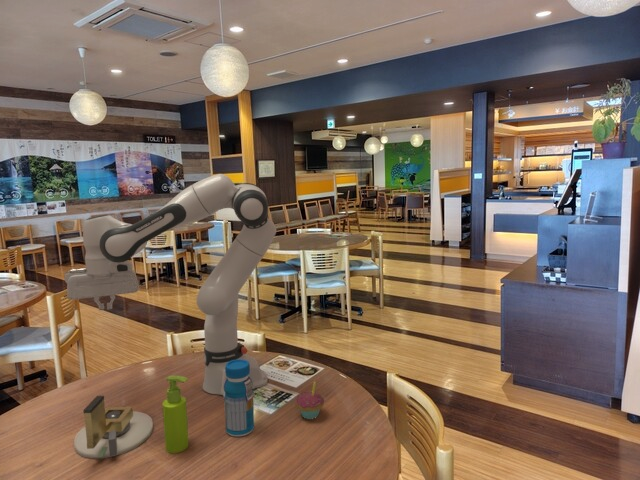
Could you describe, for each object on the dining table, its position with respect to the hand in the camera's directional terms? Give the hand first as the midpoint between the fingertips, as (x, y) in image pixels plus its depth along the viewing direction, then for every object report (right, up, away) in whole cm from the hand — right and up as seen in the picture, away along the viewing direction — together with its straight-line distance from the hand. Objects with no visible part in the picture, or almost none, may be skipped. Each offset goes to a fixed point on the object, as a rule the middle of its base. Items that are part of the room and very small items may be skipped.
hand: (105, 309), depth 136 cm
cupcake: (+65, -32, -6) cm, 73 cm away
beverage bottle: (+45, -33, -13) cm, 57 cm away
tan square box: (+10, -32, -15) cm, 37 cm away
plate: (+10, -34, -16) cm, 39 cm away
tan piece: (+10, -31, -20) cm, 38 cm away
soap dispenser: (+30, -34, -20) cm, 50 cm away
